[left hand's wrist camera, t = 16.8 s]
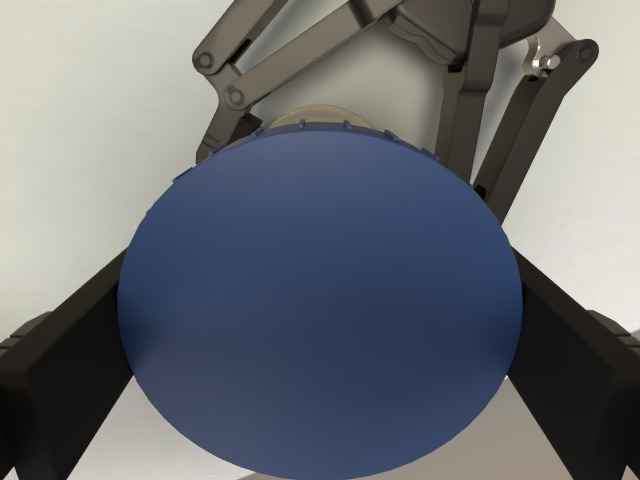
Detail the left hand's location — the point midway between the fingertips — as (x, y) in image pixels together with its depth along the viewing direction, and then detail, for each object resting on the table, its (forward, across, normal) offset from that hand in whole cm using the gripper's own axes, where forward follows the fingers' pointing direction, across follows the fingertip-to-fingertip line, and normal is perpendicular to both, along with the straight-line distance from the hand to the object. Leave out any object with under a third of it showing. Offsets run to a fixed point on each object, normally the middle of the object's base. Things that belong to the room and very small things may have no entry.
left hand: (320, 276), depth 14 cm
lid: (-3, 0, 0) cm, 3 cm away
